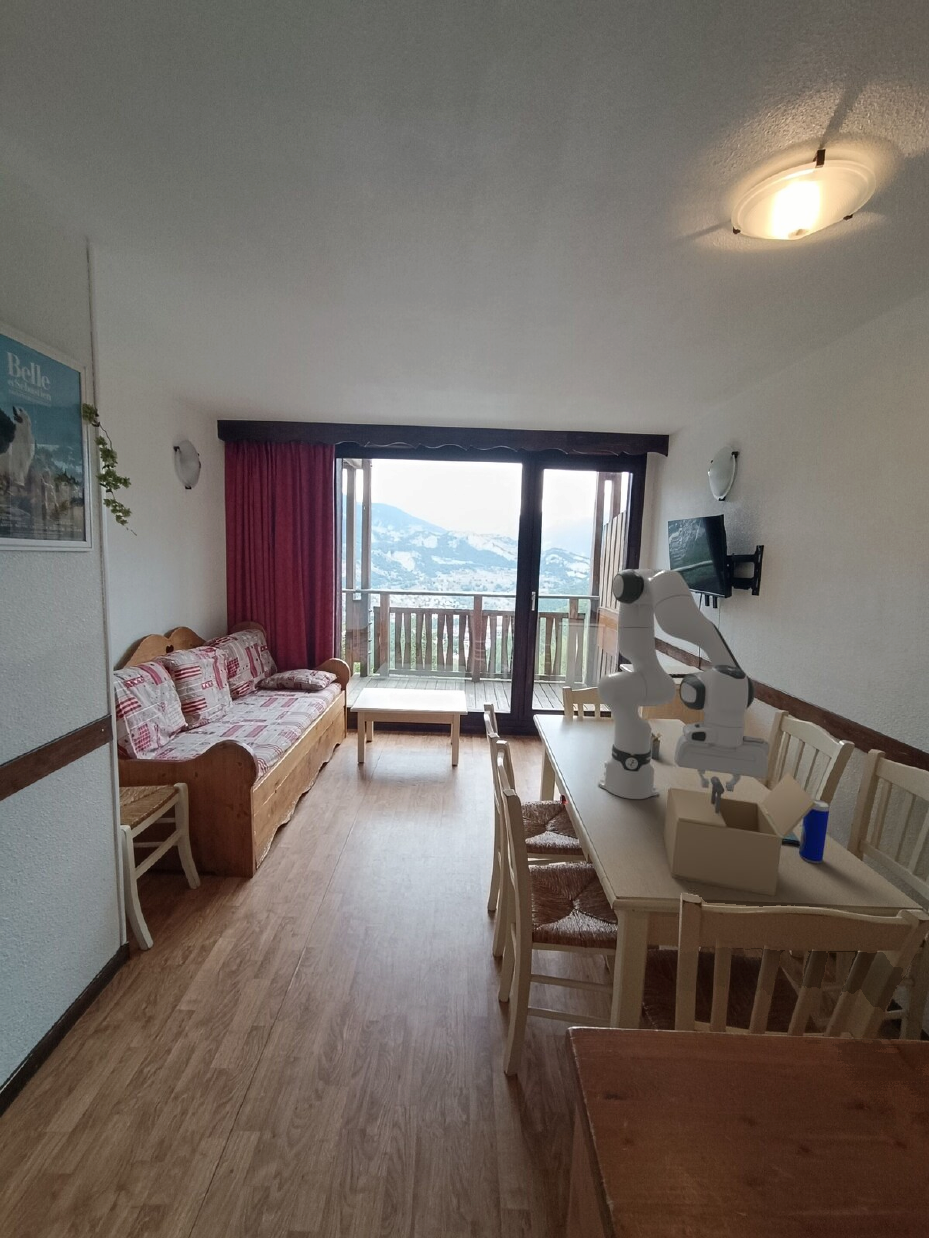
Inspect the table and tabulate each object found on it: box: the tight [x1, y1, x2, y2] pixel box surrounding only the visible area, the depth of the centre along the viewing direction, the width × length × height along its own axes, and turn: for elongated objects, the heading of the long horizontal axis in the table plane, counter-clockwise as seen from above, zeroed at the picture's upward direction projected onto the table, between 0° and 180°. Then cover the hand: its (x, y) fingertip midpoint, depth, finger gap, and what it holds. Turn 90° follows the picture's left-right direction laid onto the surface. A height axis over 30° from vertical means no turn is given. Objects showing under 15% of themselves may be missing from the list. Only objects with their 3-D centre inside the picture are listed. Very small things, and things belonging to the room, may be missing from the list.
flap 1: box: [669, 775, 726, 827], centre depth 131 cm, size 17×10×7 cm, turn 165°
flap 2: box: [760, 772, 816, 838], centre depth 126 cm, size 17×10×1 cm
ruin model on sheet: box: [650, 732, 662, 760], centre depth 207 cm, size 11×3×10 cm, turn 178°
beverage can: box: [798, 798, 830, 864], centre depth 136 cm, size 5×5×15 cm
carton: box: [663, 788, 783, 897], centre depth 131 cm, size 18×22×14 cm
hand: (716, 788), depth 130 cm, fingers open, 4 cm apart
